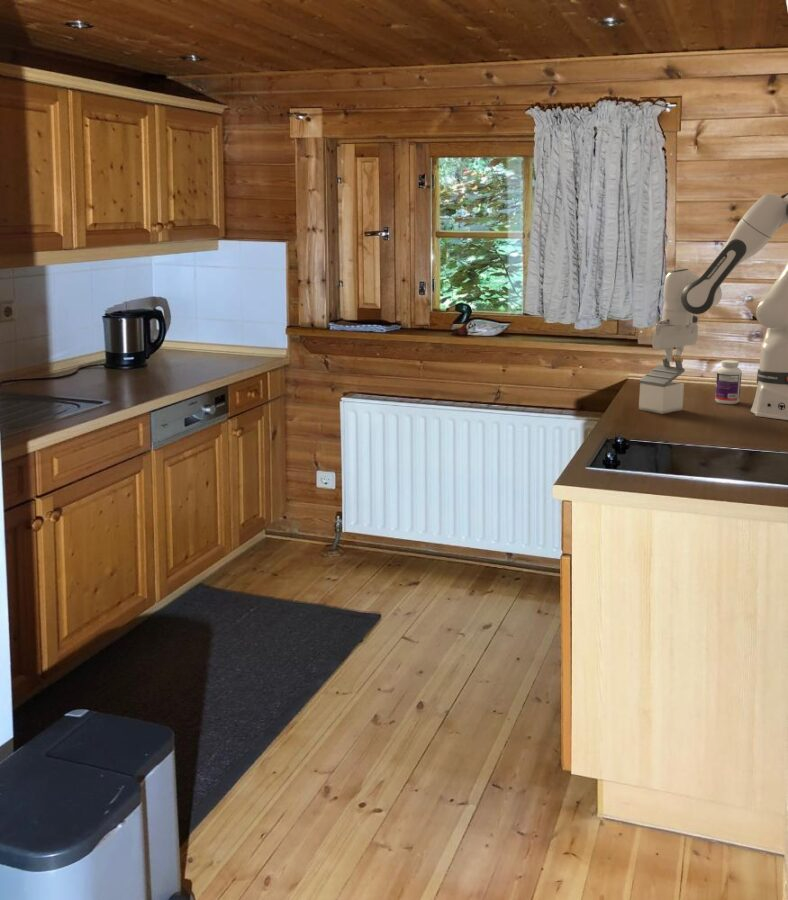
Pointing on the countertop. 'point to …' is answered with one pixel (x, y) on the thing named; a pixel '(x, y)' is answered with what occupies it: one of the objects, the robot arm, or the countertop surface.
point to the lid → (664, 373)
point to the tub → (661, 397)
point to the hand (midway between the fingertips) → (673, 360)
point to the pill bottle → (728, 383)
